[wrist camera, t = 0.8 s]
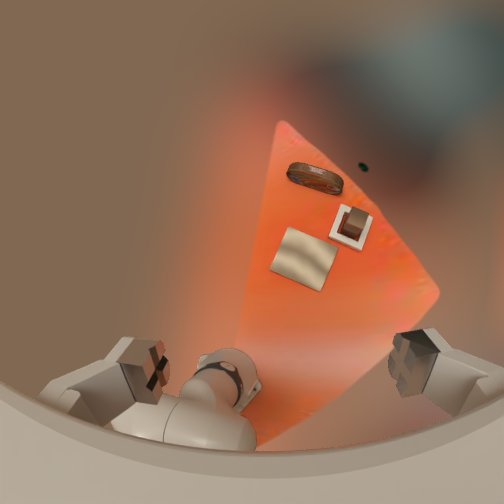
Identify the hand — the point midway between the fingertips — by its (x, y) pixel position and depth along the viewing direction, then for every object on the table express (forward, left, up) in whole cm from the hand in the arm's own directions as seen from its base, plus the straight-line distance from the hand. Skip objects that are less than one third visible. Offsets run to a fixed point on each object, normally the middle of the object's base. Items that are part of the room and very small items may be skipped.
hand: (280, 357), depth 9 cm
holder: (+21, -5, -61) cm, 65 cm away
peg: (+21, -5, -61) cm, 65 cm away
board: (+9, +3, -61) cm, 62 cm away
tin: (+29, +8, -61) cm, 68 cm away
